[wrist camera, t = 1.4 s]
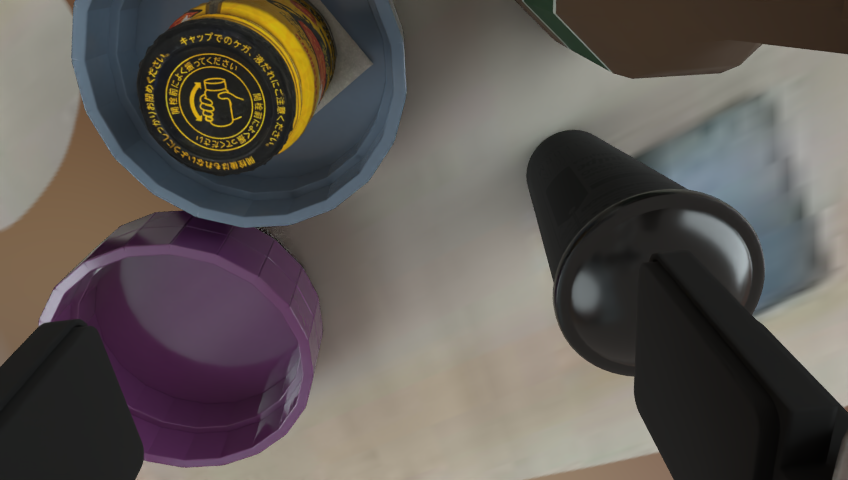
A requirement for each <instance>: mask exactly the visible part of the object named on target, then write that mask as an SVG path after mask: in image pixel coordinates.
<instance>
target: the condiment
mask: <svg viewBox="0 0 848 480" xmlns="http://www.w3.org/2000/svg"><path fill="white" fill-rule="evenodd" d="M371 65H373V63H372V62H371V61H370V59H369V58H368V57H367V56H366V55H365V53H364V52H363V51H362V50H361V49H360V48H359V46H358V45H357V44H356V43H355V41H354V40H353V39H352V38H351V37H350V35H349V34H348V33H347V32H346V31H345V29H344V28H343V27H342V26H341V25H340V23H339V22H338V21H337V20H336V19H335V17H334V16H333V15H332V14H331V12H330V11H329V10H328V9H327V8H326V7H325V5H324V4H323V3H322V2H321V1H320V0H210V1H209V2H207V3H202V4H200V5H199V6H196V7H194V8H191V9H190V10H189V11H187V12H185V13H184V14H183V15H182V16H180V17H179V18H178V19H177V20H175V21H174V22H173V24H172V25H171V26H170V27H169V29H168V30H167V31H166V32H164V33H163V34H161V35H159V36H158V37H157V39H156V40H155V41H154V43H153V45H151V46H149V47H148V48H147V51H146V54H145V57H144V59H142V60H141V61H140V63H139V70H138V75H137V82H136V85H137V96H138V99H139V109H140V110H141V113H142V115H143V118H144V121H145V124H146V127H147V130H148V131H149V133H150V134H151V135H152V137H153V138H154V139H155V140H156V142H157V143H158V144H159V145H160V146H161V147H162V148H163V149H164V150H165V151H166V152H167V153H168V154H169V155H170V156H171V157H173V158H174V159H175V160H177V161H178V162H180V163H181V164H184V165H185V166H187V167H189V168H191V169H193V170H195V171H200V172H205V173H208V174H213V175H216V176H223V177H224V176H227V175H232V174H235V175H238V174H240V173H243V172H248V171H254V170H255V169H256V168H258V167H259V166H261V165H266V163H267V162H268V161H270V160H271V159H272V157H273V156H275V155H277V154H280V153H282V152H283V151H285V150H287V149H288V148H289V147H290V146H291V145H292V144H293V143H294V142H296V141H297V139H298V138H299V137H300V136H301V135H302V134H303V133H304V131H305V129H306V127H307V125H308V123H309V122H310V121H311V118H312V117H313V116H314V115H315V114H316V113H317V112H318V111H319V110H321V109H322V108H323V107H324V106H325V105H326V104H327V103H329V102H330V101H331V100H332V99H333V98H334V97H335V96H337V95H338V94H339V93H340V92H341V91H342V90H344V89H345V88H346V87H347V86H348V85H349V84H350V83H352V82H353V81H354V80H355V79H356V78H357V77H358V76H360V75H361V74H362V73H363V72H364V71H365V70H367V69H368V68H369V67H370V66H371Z"/></svg>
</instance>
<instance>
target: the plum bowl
mask: <svg viewBox="0 0 848 480" xmlns="http://www.w3.org/2000/svg"><path fill="white" fill-rule="evenodd" d="M72 319H81V320H83V321H84V322H85V323H87V325H88V326H93V327H95V328H96V329H97V330H98V332H99V334H100V337H101V339H102V342H103V344H104V347H105V349H106V352H107V355H108V357H109V360H110V362H111V365H112V367H113V370H114V372H115V375H116V377H117V380H118V382H119V385H120V387H121V390H122V393H123V395H124V398H125V400H126V403H127V405H128V408H129V410H130V413H131V415H132V418H133V420H134V423H135V425H136V428H137V431H138V433H139V436H140V438H141V441H142V443H143V447H144V459H143V460H145V461H148V462H154V463H160V464H166V465H172V466H177V467H183V468H184V467H185V468H187V467H203V466H220V465H226V464H229V463H232V462H235V461H238V460H241V459H244V458H247V457H250V456H253V455H256V454H258V453H260V452H262V451H263V450H265V449H266V448H267V447H269V446H270V445H272V444H273V443H275V442H276V441H277V440H279V439H280V438H282V437H283V436H285V435H286V434H287V433H288V432H289V430H290V429H291V427H292V426H293V425H294V423H295V422H296V420H297V419H298V418H299V416H300V415H301V413H302V412H303V411H304V409H305V408H306V405H307V401H308V397H309V393H310V389H311V385H312V381H313V377H314V372H315V367H316V362H317V358H318V353H319V348H320V343H321V339H322V334H323V325H322V318H321V310H320V303H319V297H318V295H317V293H316V291H315V289H314V287H313V285H312V284H311V282H310V280H309V278H308V276H307V274H306V272H305V270H304V268H303V267H302V266H301V265H300V264H299V263H298V262H297V261H296V260H295V259H294V258H293V257H292V256H291V255H290V254H289V253H288V252H287V251H286V250H285V249H284V248H283V247H282V246H281V245H280V244H279V243H278V242H277V241H276V240H274V238H272V237H271V236H269V235H267V234H265V233H263V232H261V231H260V230H258V229H256V228H254V227H251V228H244V227H243V228H242V227H238V226H233V225H229V224H225V223H220V222H216V221H211V220H207V219H203V218H198V217H195V216H193V215H191V214H189V213H187V212H186V211H169V212H155V213H153V214H150V215H147V216H145V217H142V218H140V219H137V220H135V221H132V222H129V223H127V224H124V225H122V226H120V227H119V228H118V229H117V230H115V231H114V232H113V233H112V234H111V235H110V236H109V237H107V238H106V239H105V240H104V241H103V242H102V243H101V244H99V245H98V246H97V247H96V248H95V249H94V250H93V251H92V252H91V253H90V254H89V255H88V256H87V257H86V258H84V259H83V260H82V261H81V262H80V263H79V264H78V265H77V266H76V267H75V268H74V269H73V270H72V271H71V272H70V273H69V274H68V275H67V276H66V277H64V279H62V280H61V281H60V282H59V283H58V284H57V285H56V286H55V287H54V289H53V291H52V293H51V295H50V297H49V299H48V301H47V304H46V306H45V308H44V310H43V312H42V314H41V316H40V318H39V326H40V325H42V324H43V323H47V322H55V321H64V320H72Z"/></svg>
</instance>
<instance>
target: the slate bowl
mask: <svg viewBox="0 0 848 480" xmlns="http://www.w3.org/2000/svg"><path fill="white" fill-rule="evenodd" d="M209 1H210V0H75V2H74V7H73V29H72V53H71V58H72V64H73V68H74V71H75V75H76V79H77V82H78V86H79V89H80V93H81V97H82V100H83V104H84V108H85V111H87V112H86V113H87V115H88V116H89V118H90V120H91V121H92V123H93V124H94V126H95V128H96V129H97V131H98V133H99V134H100V136H101V137H102V139H103V141H104V142H105V144H106V146H107V147H108V149H109V150H110V152H111V154H112V155H113V157H115V159H116V160H117V161H118V162H120V164H121V165H122V166H124V167H125V168H126V169H127V170H128V171H129V172H130V173H131V174H132V175H133V176H134V177H135V178H136V179H137V180H138V181H139V182H141V183H142V184H143V185H144V186H145V187H146V188H147V189H148V190H149V191H150V192H152V193H153V194H154V195H156V196H158V197H159V198H161V199H163V200H165V201H167V202H169V203H171V204H173V205H174V206H176V207H178V208H180V209H182V210H184V211H186V212H187V213H189V214H191V215H193V216H195V217H198V218H203V219H207V220H211V221H216V222H220V223H225V224H229V225H233V226H238V227H242V228H243V227H244V228H251V227H269V226H287V225H293V224H295V223H298V222H301V221H303V220H306V219H309V218H311V217H314V216H317V215H319V214H322V213H325V212H328V211H330V210H332V209H334V208H336V207H337V206H338V205H339V204H341V203H342V202H343V201H345V200H346V199H347V198H348V197H350V196H351V195H352V194H353V193H355V192H356V191H357V190H358V189H360V188H361V187H362V186H363V185H365V184H366V183H367V182H368V181H369V180H370V179H371V177H372V176H373V174H374V173H375V171H376V170H377V168H378V166H379V165H380V163H381V162H382V160H383V159H384V157H385V156H386V154H387V153H388V151H389V150H390V148H391V146H392V145H393V143H394V141H395V138H396V134H397V130H398V126H399V123H400V119H401V115H402V111H403V107H404V103H405V99H406V95H407V84H406V64H405V47H404V32H403V27H402V25H401V22H400V19H399V17H398V14H397V11H396V9H395V6H394V3H393V1H392V0H320V1H321V2H322V3H323V4H324V5H325V7H326V8H327V9H328V10H329V11H330V12H331V14H332V15H333V16H334V17H335V19H336V20H337V21H338V22H339V23H340V25H341V26H342V27H343V28H344V29H345V31H346V32H347V33H348V34H349V35H350V37H351V38H352V39H353V40H354V41H355V43H356V44H357V45H358V46H359V48H360V49H361V50H362V51H363V52H364V53H365V55H366V56H367V57H368V58H369V59H370V61H371V62H372V63H373V65H371V66H370V67H369V68H368V69H367V70H365V71H364V72H363V73H362V74H361V75H360V76H358V77H357V78H356V79H355V80H354V81H353V82H352V83H350V84H349V85H348V86H347V87H346V88H345V89H344V90H342V91H341V92H340V93H339V94H338V95H337V96H335V97H334V98H333V99H332V100H331V101H330V102H329V103H327V104H326V105H325V106H324V107H323V108H322V109H321V110H319V111H318V112H317V113H316V114H315V115H314V116H313V117H312V118H311V121H310V122H309V123H308V125H307V127H306V129H305V131H304V133H303V134H302V135H301V136H300V137H299V138H298V139H297V141H296V142H294V143H293V144H292V145H291V146H290V147H289V148H288V149H287V150H285V151H283V152H282V153H280V154H277V155H275V156H273V157H272V159H271V160H270V161H268V162H267V163H266V165H261V166H259V167H258V168H256V169H255V170H254V171H248V172H243V173H240V174H238V175H235V174H232V175H227V176H224V177H223V176H216V175H213V174H208V173H205V172H200V171H195V170H193V169H191V168H189V167H187V166H185V165H184V164H181V163H180V162H178V161H177V160H175V159H174V158H173V157H171V156H170V155H169V154H168V153H167V152H166V151H165V150H164V149H163V148H162V147H161V146H160V145H159V144H158V143H157V142H156V140H155V139H154V138H153V137H152V135H151V134H150V133H149V131H148V130H147V127H146V124H145V121H144V118H143V115H142V113H141V110H140V109H139V99H138V96H137V85H136V82H137V75H138V70H139V63H140V61H141V60H142V59H144V57H145V54H146V51H147V48H148V47H149V46H151V45H153V43H154V41H155V40H156V39H157V37H158V36H159V35H161V34H163V33H164V32H166V31H167V30H168V29H169V27H170V26H171V25H172V24H173V22H174V21H175V20H177V19H178V18H179V17H180V16H182V15H183V14H184V13H185V12H187V11H189V10H190V9H191V8H194V7H196V6H199V5H200V4H202V3H207V2H209Z"/></svg>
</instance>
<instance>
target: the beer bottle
mask: <svg viewBox="0 0 848 480" xmlns="http://www.w3.org/2000/svg"><path fill="white" fill-rule="evenodd" d="M515 1H516V2H517V3H518V4H519V5H520V6H521V7H522V8H523V9H524V10H525V11H526V12H527V13H528V14H529V15H530V16H531V17H532V18H533V19H534V20H535V21H536V22H537V23H538V24H539V25H540V26H541V27H542V28H543V29H544V30H545V31H546V32H547V33H548V34H549V35H550V36H551V37H552V38H553V39H554V40H555V41H556V42H558V43H560V44H562V45H563V46H565V47H567V48H569V49H571V50H572V51H574V52H576V53H578V54H580V55H581V56H583V57H585V58H587V59H589V60H590V61H592V62H594V63H596V64H598V65H599V66H601V67H603V68H605V69H607V70H608V71H610V72H612V73H614V74H618V75H621V76H625V77H628V78H632V79H634V78H650V77H666V76H683V75H699V74H715V73H722V72H724V71H727V70H729V69H732V68H734V67H737V66H739V65H741V64H742V63H743V62H744V61H745V60H746V59H747V58H748V57H749V56H750V55H751V54H752V53H753V52H754V51H755V50H756V49H758V48H759V47H760V46H761V45H762V44H768V45H777V46H785V47H793V48H801V49H810V50H818V51H826V52H835V53H843V54H848V0H515Z"/></svg>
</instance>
